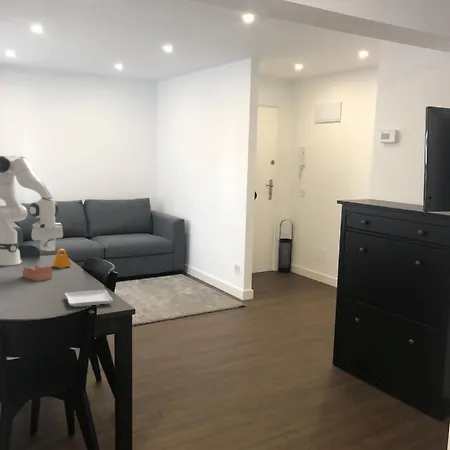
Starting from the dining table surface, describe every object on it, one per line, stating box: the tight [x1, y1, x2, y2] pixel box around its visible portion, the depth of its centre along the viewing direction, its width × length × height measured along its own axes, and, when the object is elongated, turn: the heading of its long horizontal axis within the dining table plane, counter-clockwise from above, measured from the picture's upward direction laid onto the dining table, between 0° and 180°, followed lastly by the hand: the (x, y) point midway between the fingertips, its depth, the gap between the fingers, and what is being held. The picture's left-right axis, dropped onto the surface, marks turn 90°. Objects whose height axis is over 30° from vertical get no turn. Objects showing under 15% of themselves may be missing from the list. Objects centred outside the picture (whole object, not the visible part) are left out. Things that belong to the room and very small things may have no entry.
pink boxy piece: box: [22, 264, 53, 282], centre depth 297 cm, size 16×9×8 cm, turn 53°
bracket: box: [52, 248, 71, 269], centre depth 330 cm, size 11×7×12 cm, turn 113°
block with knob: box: [39, 239, 56, 252], centre depth 307 cm, size 8×5×6 cm, turn 54°
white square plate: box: [64, 289, 114, 308], centre depth 252 cm, size 21×21×3 cm
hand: (47, 246), depth 307 cm, fingers closed on block with knob, 5 cm apart
